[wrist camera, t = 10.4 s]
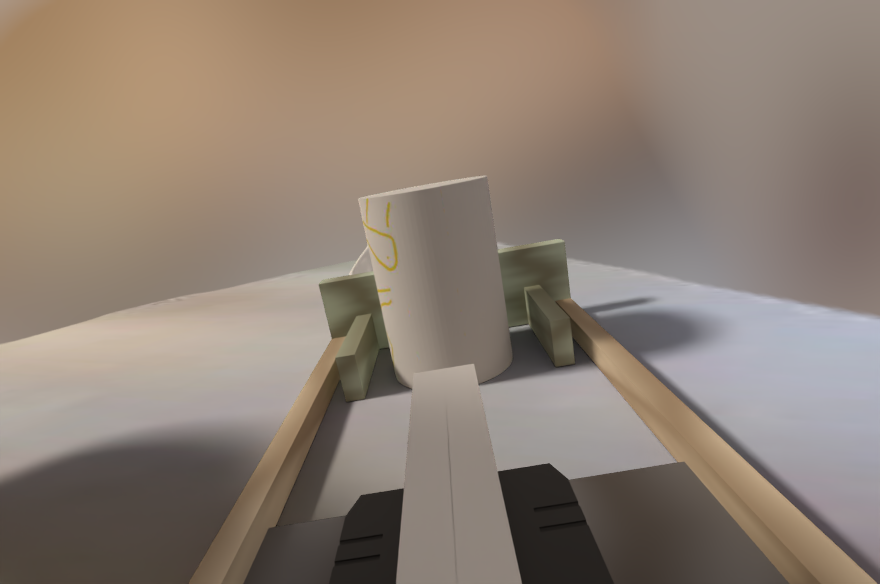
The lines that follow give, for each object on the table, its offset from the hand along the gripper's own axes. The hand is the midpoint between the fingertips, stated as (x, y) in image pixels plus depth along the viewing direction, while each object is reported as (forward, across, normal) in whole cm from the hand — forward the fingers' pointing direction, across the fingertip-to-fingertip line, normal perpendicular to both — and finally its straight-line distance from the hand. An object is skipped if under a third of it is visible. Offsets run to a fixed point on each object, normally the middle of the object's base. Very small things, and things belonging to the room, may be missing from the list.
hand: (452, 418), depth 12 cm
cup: (+20, 0, -7) cm, 21 cm away
